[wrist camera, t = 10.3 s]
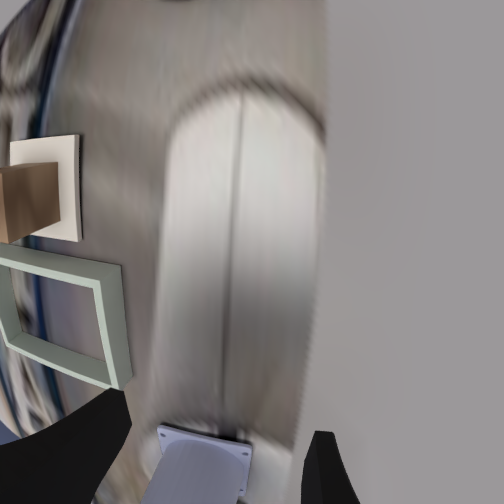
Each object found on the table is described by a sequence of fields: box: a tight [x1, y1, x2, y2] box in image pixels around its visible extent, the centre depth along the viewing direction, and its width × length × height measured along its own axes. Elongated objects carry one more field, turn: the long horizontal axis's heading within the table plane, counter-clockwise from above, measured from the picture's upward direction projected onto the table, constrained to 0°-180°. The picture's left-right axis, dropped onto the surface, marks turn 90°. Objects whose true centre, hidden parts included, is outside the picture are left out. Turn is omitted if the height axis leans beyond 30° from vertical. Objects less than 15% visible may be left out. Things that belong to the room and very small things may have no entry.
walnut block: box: [0, 162, 61, 244], centre depth 16 cm, size 4×4×5 cm
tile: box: [10, 135, 82, 242], centre depth 19 cm, size 7×7×1 cm
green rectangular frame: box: [0, 243, 133, 391], centre depth 21 cm, size 9×13×2 cm
